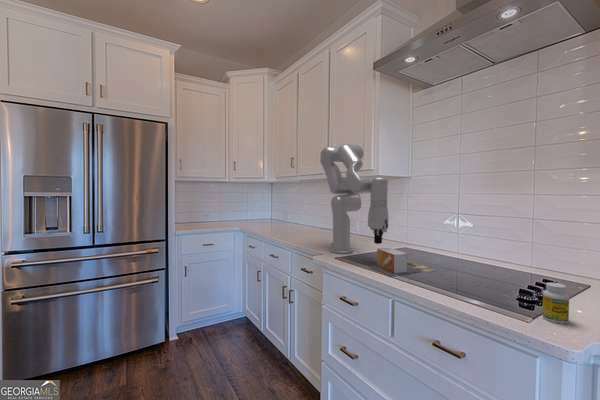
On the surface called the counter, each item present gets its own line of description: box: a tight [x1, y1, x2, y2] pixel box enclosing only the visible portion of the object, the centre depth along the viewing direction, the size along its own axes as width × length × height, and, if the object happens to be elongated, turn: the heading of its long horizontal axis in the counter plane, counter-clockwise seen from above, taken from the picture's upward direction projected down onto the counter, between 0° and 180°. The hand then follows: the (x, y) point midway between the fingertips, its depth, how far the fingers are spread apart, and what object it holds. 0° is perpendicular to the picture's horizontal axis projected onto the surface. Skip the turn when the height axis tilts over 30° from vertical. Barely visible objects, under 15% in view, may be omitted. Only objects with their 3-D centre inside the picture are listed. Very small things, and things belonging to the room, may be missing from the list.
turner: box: [407, 260, 436, 273], centre depth 132 cm, size 17×5×1 cm, turn 23°
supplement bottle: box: [542, 282, 570, 325], centre depth 79 cm, size 5×5×10 cm
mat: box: [369, 266, 422, 278], centre depth 127 cm, size 14×16×1 cm
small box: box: [376, 247, 408, 273], centre depth 127 cm, size 8×6×13 cm
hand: (378, 243), depth 137 cm, fingers closed
